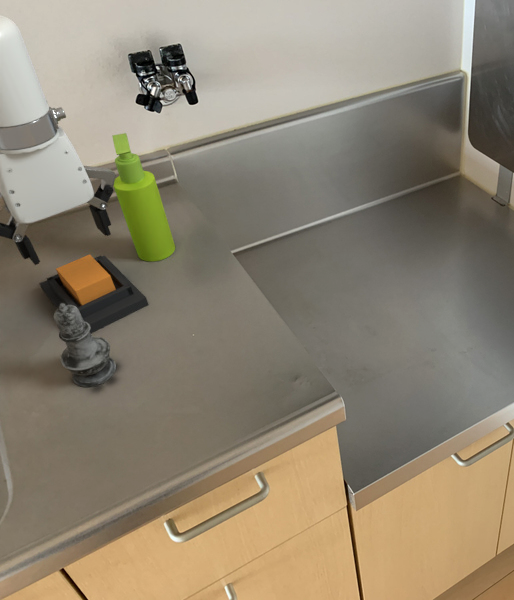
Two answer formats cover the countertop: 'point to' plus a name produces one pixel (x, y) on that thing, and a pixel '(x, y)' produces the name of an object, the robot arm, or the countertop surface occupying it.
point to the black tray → (100, 298)
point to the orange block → (85, 279)
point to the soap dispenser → (141, 204)
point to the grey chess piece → (83, 349)
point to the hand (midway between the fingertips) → (70, 245)
